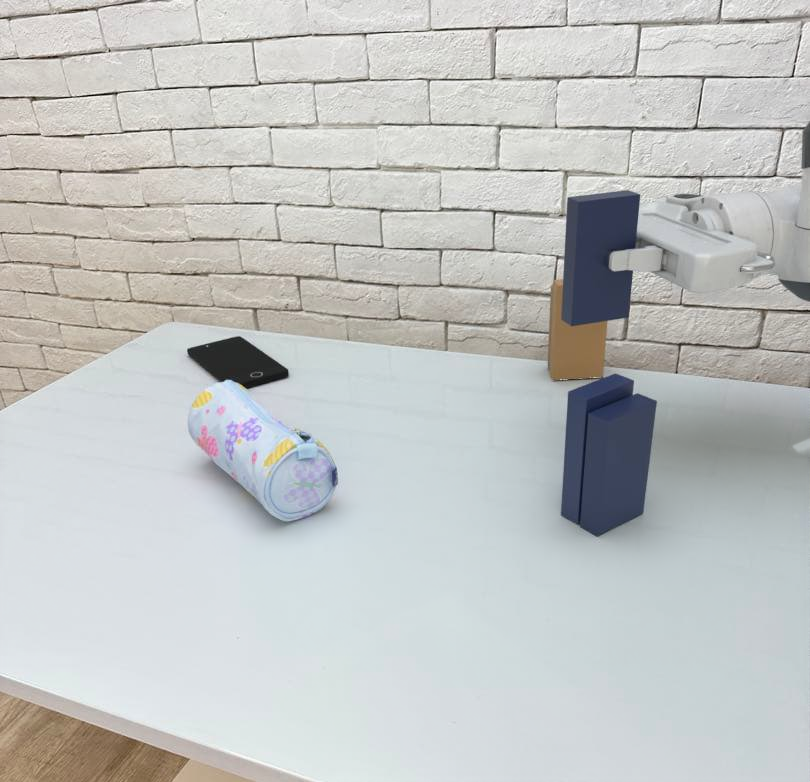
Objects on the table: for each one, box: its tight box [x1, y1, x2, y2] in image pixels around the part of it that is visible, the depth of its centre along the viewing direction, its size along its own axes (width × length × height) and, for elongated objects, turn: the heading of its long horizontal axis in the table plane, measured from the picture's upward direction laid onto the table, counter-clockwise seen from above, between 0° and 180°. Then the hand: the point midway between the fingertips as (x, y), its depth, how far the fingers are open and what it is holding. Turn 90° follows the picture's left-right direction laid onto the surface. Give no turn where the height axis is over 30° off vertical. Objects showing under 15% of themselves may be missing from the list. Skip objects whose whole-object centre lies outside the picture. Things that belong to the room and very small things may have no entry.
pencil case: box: [187, 380, 339, 522], centre depth 93 cm, size 21×9×10 cm, turn 35°
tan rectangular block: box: [546, 278, 608, 380], centre depth 113 cm, size 7×5×13 cm
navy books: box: [560, 372, 658, 537], centre depth 83 cm, size 7×5×14 cm
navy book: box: [561, 189, 641, 326], centre depth 85 cm, size 6×2×12 cm, turn 107°
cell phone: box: [186, 335, 290, 389], centre depth 125 cm, size 9×18×1 cm, turn 32°
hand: (598, 256), depth 84 cm, fingers closed on navy book, 2 cm apart
